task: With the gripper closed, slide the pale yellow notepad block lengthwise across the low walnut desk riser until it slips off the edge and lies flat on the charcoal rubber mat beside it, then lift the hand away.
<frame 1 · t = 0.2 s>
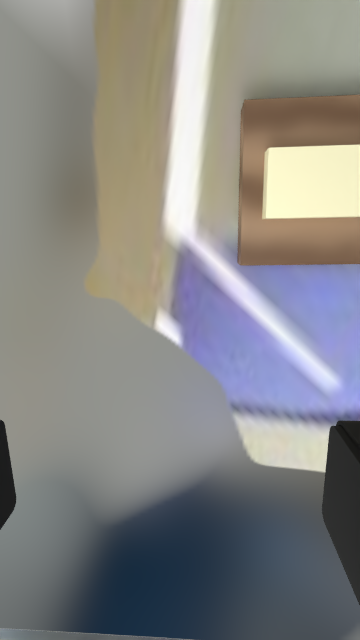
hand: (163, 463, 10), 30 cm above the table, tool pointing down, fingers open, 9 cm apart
notepad: (311, 185, 33), point 3 cm above the table, touching riser
riser: (307, 189, 35), on the table
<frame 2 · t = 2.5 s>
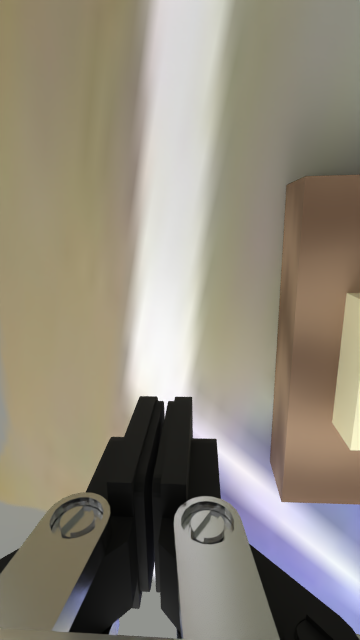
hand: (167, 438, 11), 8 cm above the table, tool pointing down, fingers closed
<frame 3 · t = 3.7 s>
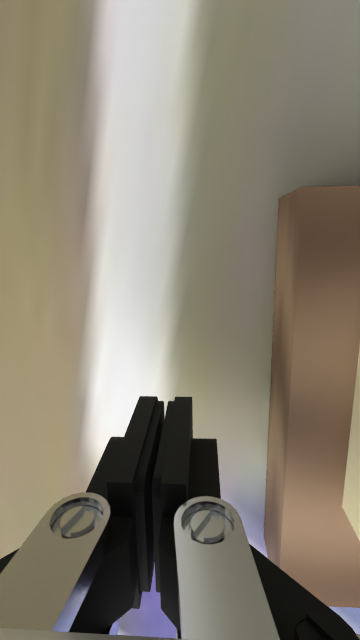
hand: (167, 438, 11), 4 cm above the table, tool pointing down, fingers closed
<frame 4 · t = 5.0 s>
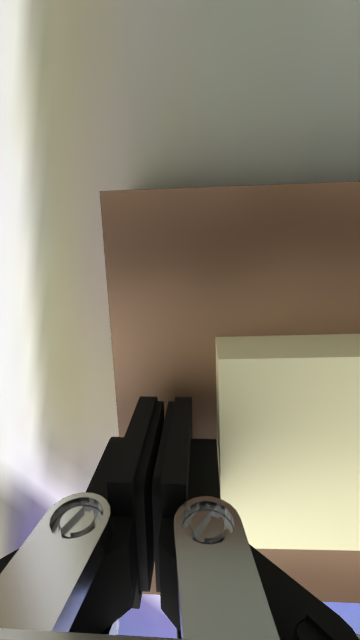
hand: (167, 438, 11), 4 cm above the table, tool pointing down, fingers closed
notepad: (355, 421, 11), point 3 cm above the table, touching gripper, riser
riser: (301, 385, 14), on the table
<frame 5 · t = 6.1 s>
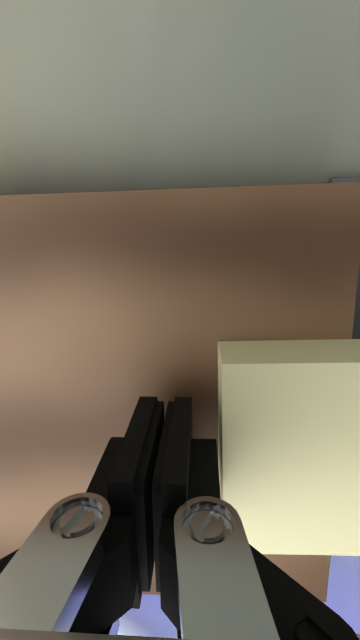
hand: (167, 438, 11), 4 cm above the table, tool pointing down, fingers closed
notepad: (356, 426, 11), point 3 cm above the table, touching gripper, riser
riser: (146, 386, 15), on the table
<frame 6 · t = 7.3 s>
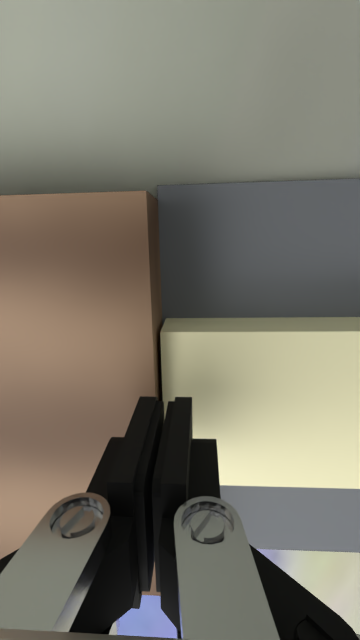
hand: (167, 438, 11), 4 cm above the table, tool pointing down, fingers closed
mat: (334, 387, 14), on the table
notepad: (278, 389, 14), resting on mat
riser: (6, 385, 15), on the table
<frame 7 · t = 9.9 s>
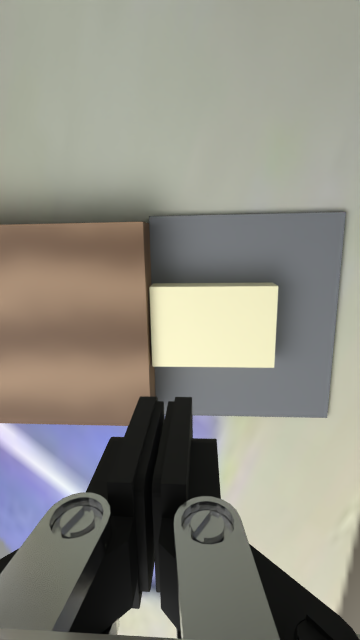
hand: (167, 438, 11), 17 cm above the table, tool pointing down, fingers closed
mat: (242, 321, 27), on the table
notepad: (212, 321, 27), resting on mat
riser: (67, 321, 28), on the table
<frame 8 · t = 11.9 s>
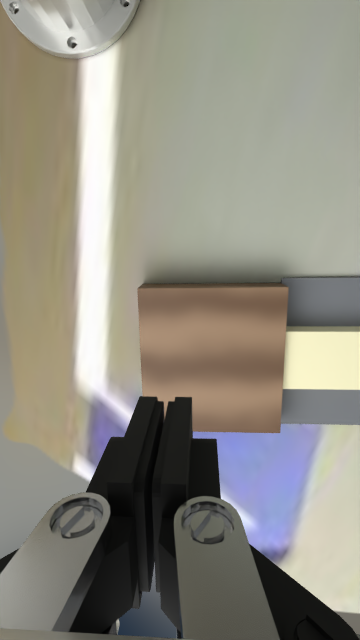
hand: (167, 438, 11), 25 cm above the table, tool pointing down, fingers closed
mat: (345, 354, 36), on the table
notepad: (323, 354, 35), resting on mat
riser: (210, 353, 36), on the table
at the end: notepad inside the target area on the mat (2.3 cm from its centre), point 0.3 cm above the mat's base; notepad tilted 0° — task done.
